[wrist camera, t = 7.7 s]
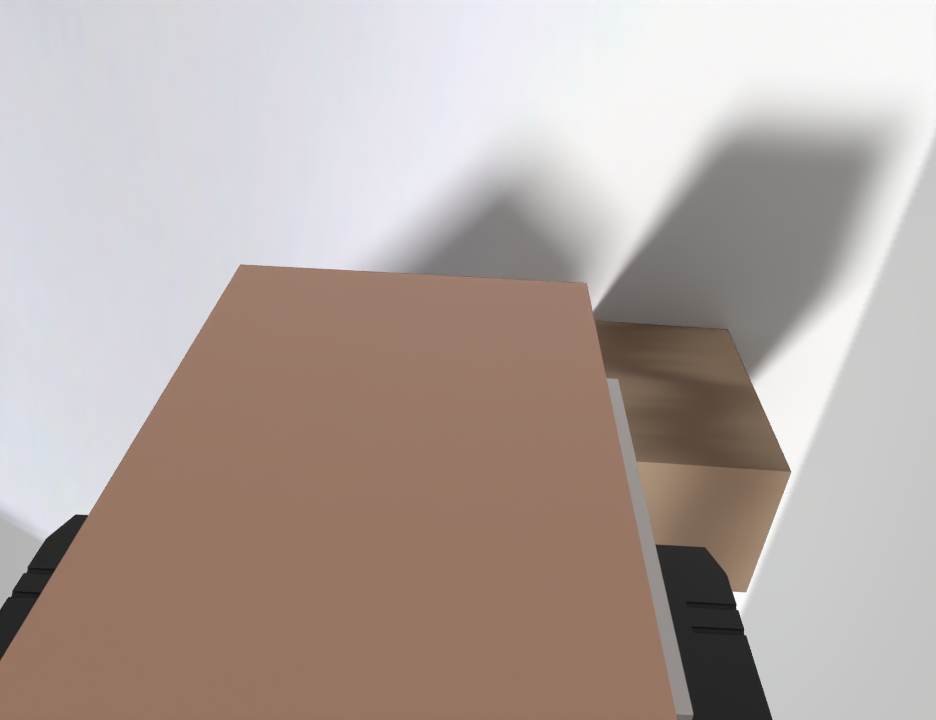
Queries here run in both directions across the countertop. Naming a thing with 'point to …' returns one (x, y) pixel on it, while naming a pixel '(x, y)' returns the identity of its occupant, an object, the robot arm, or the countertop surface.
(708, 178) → the countertop surface
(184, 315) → the countertop surface
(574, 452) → the terracotta block
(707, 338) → the walnut block
